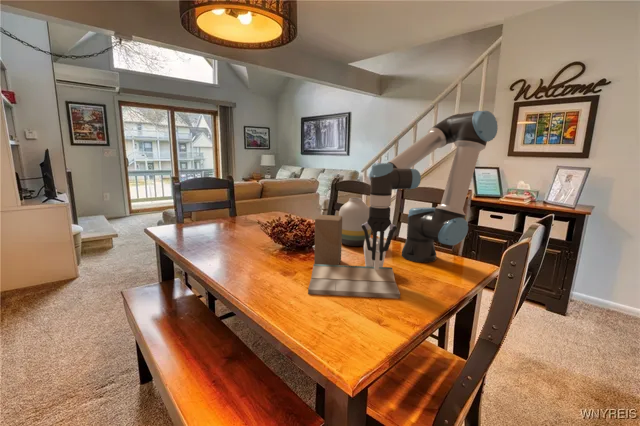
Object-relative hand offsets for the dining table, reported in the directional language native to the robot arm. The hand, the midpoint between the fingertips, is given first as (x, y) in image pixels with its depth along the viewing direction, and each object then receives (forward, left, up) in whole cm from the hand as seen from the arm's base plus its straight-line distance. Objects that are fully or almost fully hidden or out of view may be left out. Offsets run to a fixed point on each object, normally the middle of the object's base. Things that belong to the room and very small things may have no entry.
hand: (376, 268), depth 115 cm
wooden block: (+19, -14, -4) cm, 24 cm away
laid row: (+9, +12, -4) cm, 15 cm away
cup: (0, -9, -4) cm, 10 cm away
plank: (+9, +2, -3) cm, 10 cm away
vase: (+7, -45, -4) cm, 46 cm away
